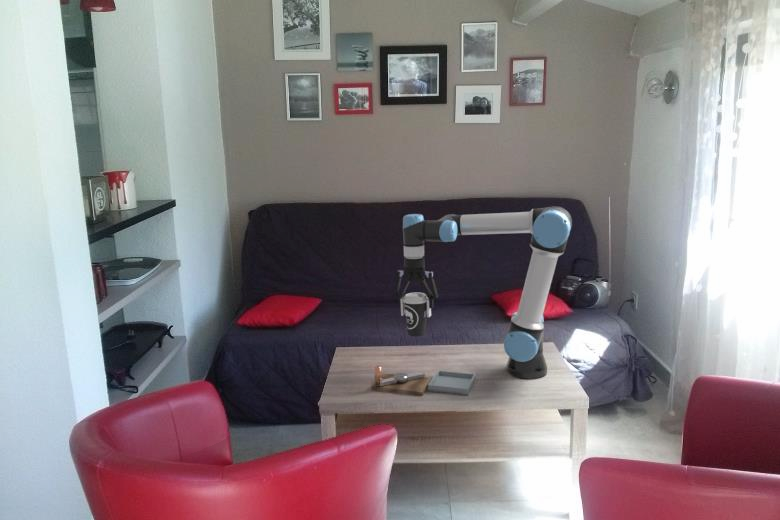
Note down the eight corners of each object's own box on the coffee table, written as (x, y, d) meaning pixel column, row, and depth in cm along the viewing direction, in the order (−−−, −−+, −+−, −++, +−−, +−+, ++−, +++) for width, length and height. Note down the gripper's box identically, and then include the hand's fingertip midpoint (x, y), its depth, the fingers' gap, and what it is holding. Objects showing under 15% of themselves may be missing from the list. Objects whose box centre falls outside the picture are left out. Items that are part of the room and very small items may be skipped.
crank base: (432, 381, 233) (432, 378, 233) (422, 396, 221) (422, 392, 221) (383, 376, 239) (383, 372, 239) (371, 390, 227) (371, 386, 227)
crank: (420, 373, 236) (419, 355, 235) (426, 378, 232) (426, 360, 230) (372, 383, 228) (372, 365, 227) (378, 388, 224) (377, 369, 223)
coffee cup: (427, 338, 232) (426, 298, 229) (401, 337, 234) (400, 298, 231) (431, 330, 241) (429, 291, 238) (406, 329, 243) (405, 291, 240)
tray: (476, 380, 233) (476, 373, 233) (467, 395, 220) (467, 389, 220) (438, 376, 238) (438, 370, 238) (427, 391, 225) (427, 384, 224)
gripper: (446, 255, 231) (447, 314, 236) (389, 253, 239) (391, 311, 243) (440, 259, 225) (442, 320, 229) (382, 257, 232) (384, 316, 236)
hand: (416, 315), depth 236 cm, fingers closed on coffee cup, 9 cm apart
